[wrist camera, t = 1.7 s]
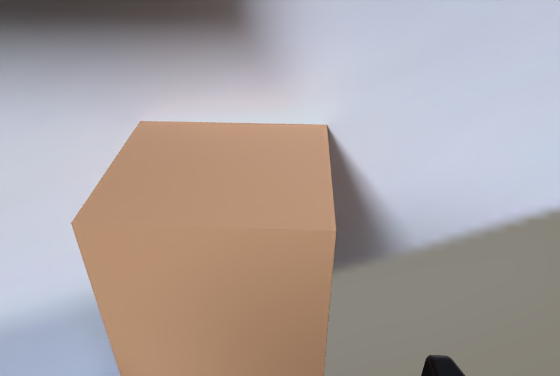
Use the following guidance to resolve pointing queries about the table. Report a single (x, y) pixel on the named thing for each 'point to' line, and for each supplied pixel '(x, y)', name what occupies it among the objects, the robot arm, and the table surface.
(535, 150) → the table surface
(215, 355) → the terracotta block
